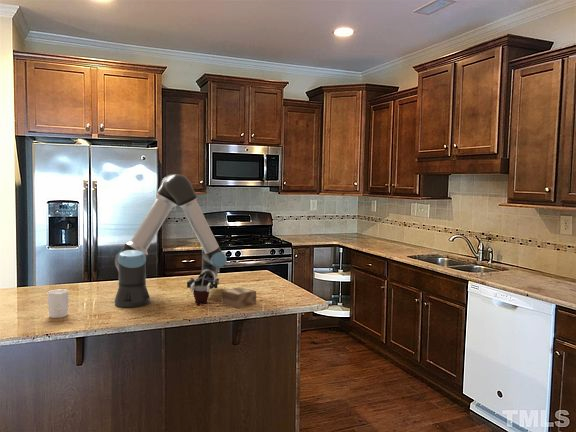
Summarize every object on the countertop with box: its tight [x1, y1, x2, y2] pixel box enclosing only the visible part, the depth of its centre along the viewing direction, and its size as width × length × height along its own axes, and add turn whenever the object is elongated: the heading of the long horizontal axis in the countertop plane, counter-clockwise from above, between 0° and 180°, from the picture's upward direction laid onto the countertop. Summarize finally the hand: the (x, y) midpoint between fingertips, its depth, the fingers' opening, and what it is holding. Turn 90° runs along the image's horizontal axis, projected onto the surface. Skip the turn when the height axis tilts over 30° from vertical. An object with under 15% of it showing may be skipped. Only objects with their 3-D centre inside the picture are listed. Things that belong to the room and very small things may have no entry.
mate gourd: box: [192, 274, 210, 306], centre depth 210 cm, size 8×8×15 cm
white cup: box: [46, 289, 70, 319], centre depth 189 cm, size 8×8×10 cm
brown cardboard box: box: [221, 286, 257, 310], centre depth 212 cm, size 11×11×6 cm
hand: (199, 288), depth 205 cm, fingers closed on mate gourd, 6 cm apart
